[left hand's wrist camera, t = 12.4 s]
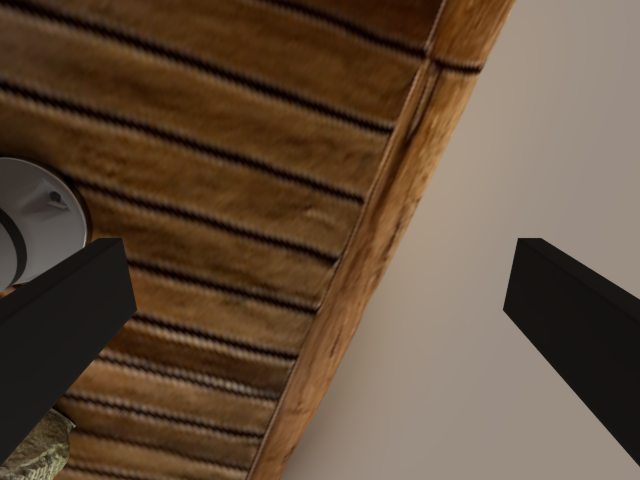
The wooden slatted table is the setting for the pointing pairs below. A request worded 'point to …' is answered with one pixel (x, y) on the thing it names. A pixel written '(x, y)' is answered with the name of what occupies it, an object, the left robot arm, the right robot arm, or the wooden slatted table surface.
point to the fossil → (40, 450)
